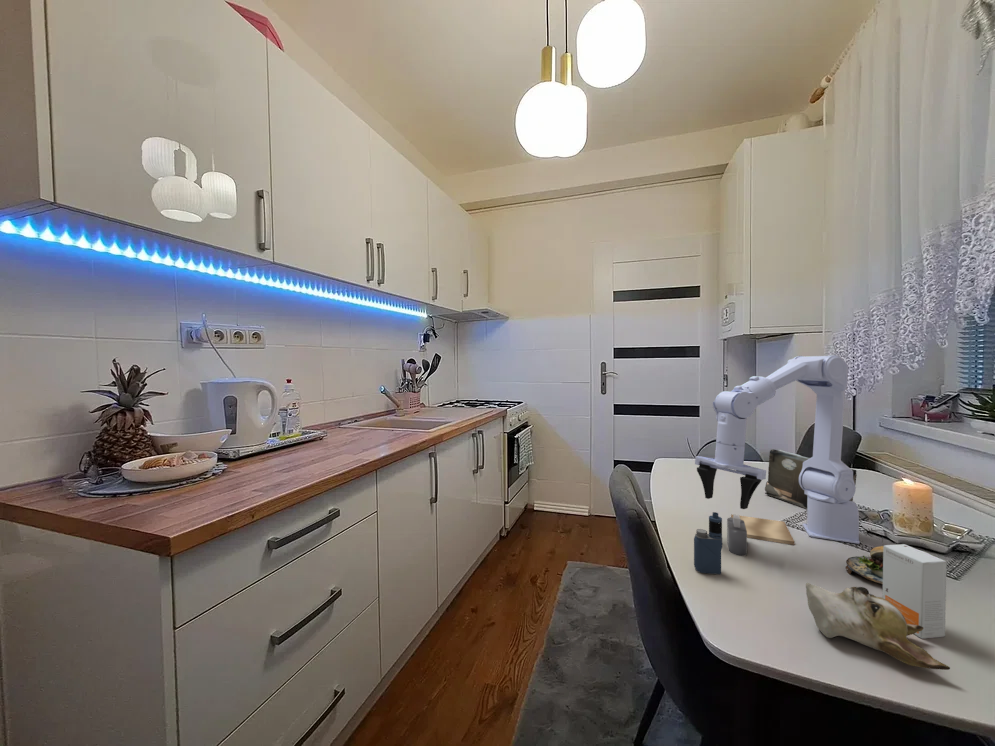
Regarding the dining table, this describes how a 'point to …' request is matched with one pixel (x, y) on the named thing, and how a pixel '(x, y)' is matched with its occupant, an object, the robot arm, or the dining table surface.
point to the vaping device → (709, 547)
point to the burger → (868, 565)
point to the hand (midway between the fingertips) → (725, 502)
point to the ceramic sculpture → (868, 623)
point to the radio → (788, 477)
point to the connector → (736, 536)
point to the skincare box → (916, 587)
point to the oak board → (767, 530)
